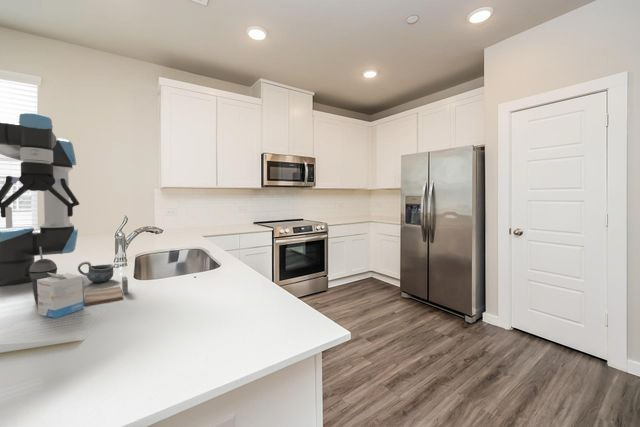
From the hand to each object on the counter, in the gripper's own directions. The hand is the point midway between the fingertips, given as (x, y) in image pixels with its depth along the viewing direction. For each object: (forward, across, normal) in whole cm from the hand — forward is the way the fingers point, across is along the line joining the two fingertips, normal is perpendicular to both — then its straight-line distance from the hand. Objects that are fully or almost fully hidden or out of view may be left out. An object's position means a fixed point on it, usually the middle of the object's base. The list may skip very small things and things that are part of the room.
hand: (39, 227), depth 91 cm
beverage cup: (+28, -1, +9) cm, 29 cm away
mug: (+28, +13, +28) cm, 41 cm away
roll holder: (+28, +16, +5) cm, 33 cm away
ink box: (+28, +6, -6) cm, 29 cm away
